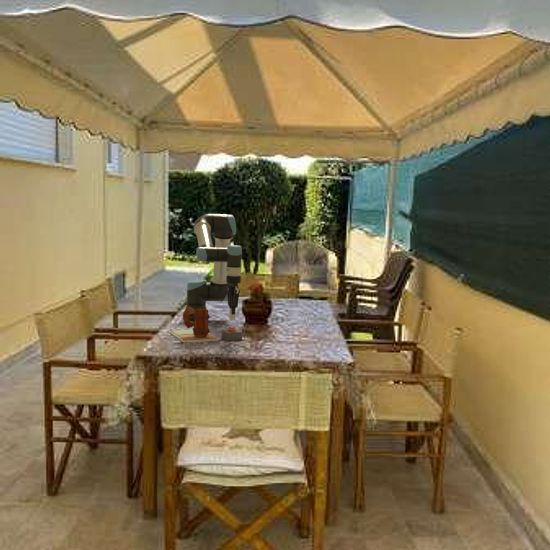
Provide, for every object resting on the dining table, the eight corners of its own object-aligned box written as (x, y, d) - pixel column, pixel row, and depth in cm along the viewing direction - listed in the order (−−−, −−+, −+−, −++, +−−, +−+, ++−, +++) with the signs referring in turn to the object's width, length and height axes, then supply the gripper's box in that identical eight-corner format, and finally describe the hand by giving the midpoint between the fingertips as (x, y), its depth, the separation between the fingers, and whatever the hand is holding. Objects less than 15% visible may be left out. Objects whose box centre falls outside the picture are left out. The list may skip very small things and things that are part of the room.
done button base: (221, 337, 334) (221, 329, 333) (235, 336, 337) (236, 329, 337) (227, 340, 327) (227, 332, 326) (241, 339, 330) (241, 331, 330)
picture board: (169, 332, 340) (169, 330, 340) (201, 330, 348) (201, 328, 348) (183, 342, 317) (183, 340, 317) (218, 340, 325) (218, 338, 325)
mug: (212, 335, 330) (213, 307, 329) (206, 338, 322) (207, 309, 321) (186, 333, 334) (186, 305, 332) (180, 336, 326) (180, 307, 324)
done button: (227, 333, 332) (227, 326, 332) (233, 332, 334) (233, 326, 334) (229, 334, 329) (230, 327, 329) (236, 334, 331) (236, 327, 330)
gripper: (222, 273, 332) (220, 318, 335) (231, 276, 321) (230, 322, 323) (235, 273, 336) (234, 317, 338) (245, 276, 324) (243, 322, 327)
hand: (232, 320), depth 331 cm, fingers closed
